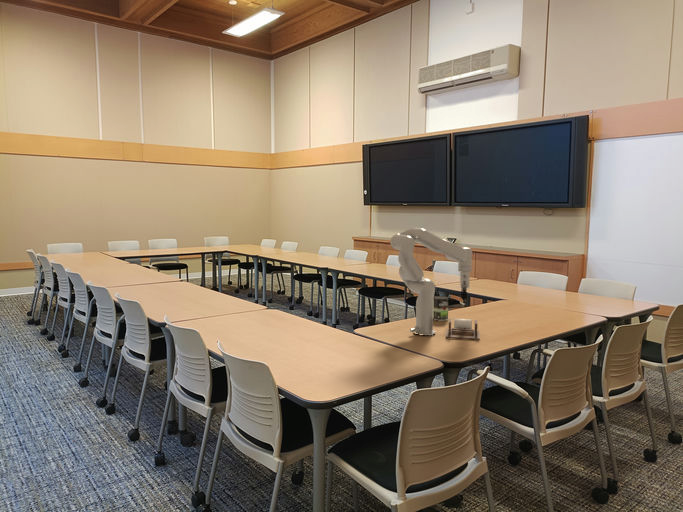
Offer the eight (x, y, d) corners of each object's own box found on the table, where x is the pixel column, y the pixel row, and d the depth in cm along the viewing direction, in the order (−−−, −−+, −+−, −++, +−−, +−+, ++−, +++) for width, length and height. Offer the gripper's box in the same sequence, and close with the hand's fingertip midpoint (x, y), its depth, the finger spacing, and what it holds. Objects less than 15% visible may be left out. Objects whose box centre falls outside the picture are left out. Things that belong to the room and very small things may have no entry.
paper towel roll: (454, 329, 282) (454, 320, 281) (454, 325, 288) (454, 317, 286) (471, 330, 280) (471, 321, 279) (471, 326, 285) (471, 318, 284)
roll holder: (445, 338, 262) (446, 324, 261) (446, 330, 277) (446, 317, 276) (479, 340, 258) (480, 325, 257) (478, 332, 273) (479, 318, 272)
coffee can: (451, 320, 303) (451, 298, 301) (437, 321, 299) (438, 299, 297) (442, 316, 312) (442, 295, 310) (428, 318, 308) (429, 296, 307)
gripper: (471, 270, 271) (470, 300, 273) (471, 266, 288) (470, 294, 290) (458, 270, 273) (457, 299, 275) (458, 266, 290) (457, 294, 292)
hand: (463, 297), depth 282 cm, fingers open, 9 cm apart
